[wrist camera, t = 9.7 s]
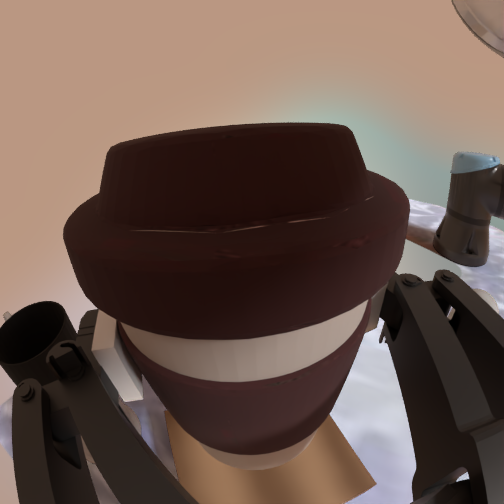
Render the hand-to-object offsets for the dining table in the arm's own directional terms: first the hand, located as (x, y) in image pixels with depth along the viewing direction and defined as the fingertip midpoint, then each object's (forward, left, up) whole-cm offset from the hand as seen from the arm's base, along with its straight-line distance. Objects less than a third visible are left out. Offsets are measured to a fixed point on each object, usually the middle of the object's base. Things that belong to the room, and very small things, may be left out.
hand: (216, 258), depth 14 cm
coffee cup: (0, +5, -9) cm, 10 cm away
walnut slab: (0, +5, -19) cm, 19 cm away
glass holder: (+17, -4, -19) cm, 26 cm away
